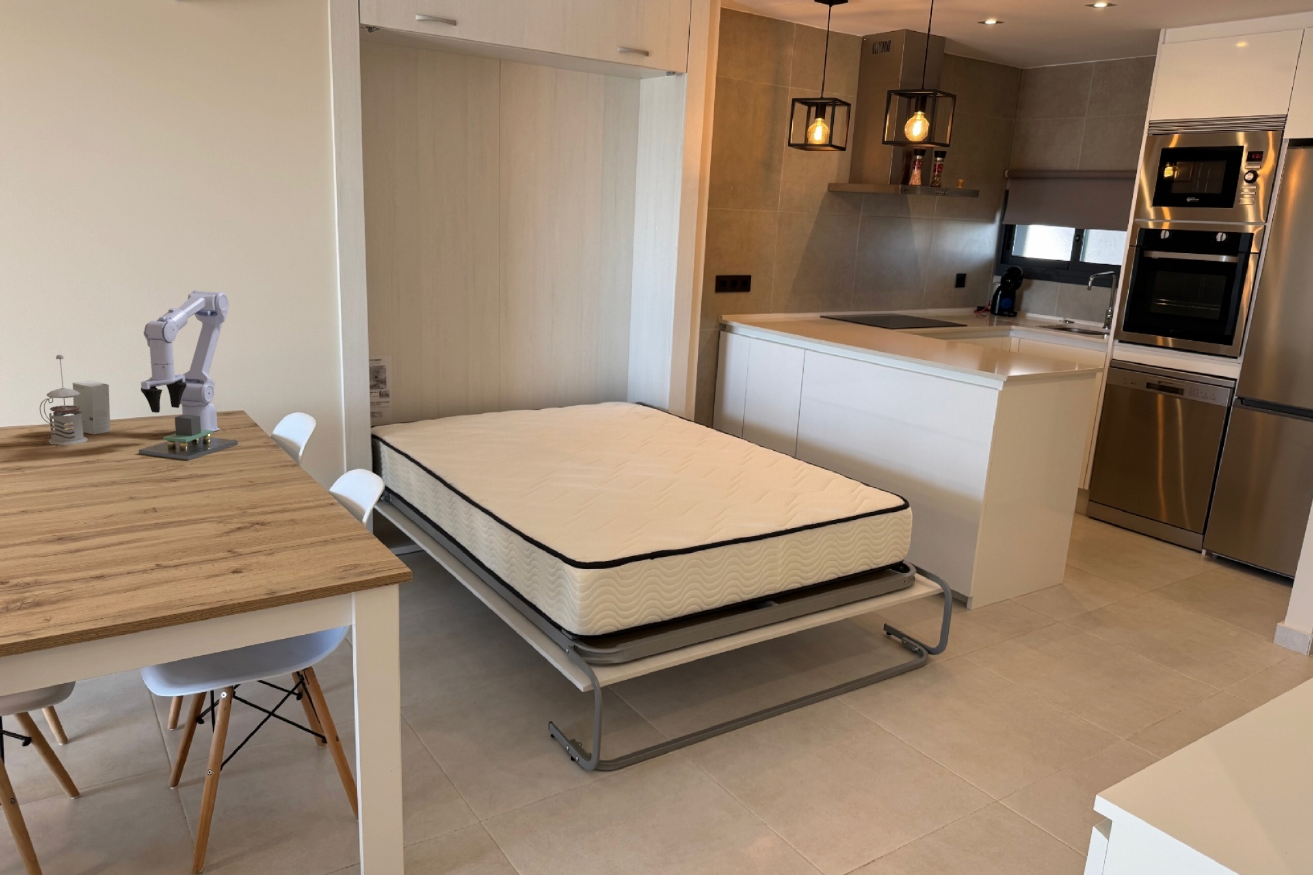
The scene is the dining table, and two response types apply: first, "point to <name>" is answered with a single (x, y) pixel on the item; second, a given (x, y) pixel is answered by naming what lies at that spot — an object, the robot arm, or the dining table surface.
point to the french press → (64, 417)
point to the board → (187, 438)
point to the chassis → (188, 448)
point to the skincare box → (93, 406)
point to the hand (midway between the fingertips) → (165, 409)
